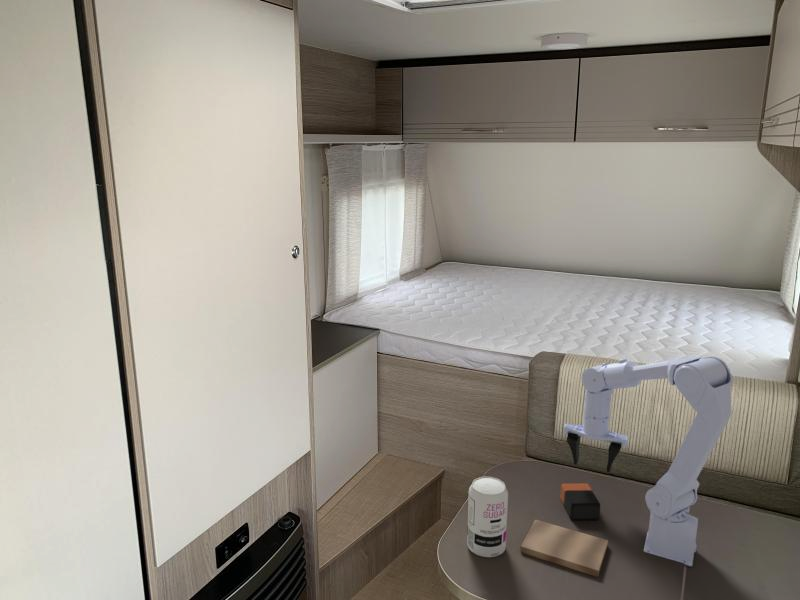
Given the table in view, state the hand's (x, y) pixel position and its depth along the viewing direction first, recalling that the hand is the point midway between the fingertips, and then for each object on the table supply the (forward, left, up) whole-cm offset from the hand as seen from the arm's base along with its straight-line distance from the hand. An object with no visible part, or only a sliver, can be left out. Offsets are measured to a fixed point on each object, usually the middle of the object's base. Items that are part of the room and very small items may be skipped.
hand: (592, 466), depth 142 cm
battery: (-1, +9, -7) cm, 11 cm away
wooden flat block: (+1, +22, -9) cm, 23 cm away
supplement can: (+16, +29, -10) cm, 34 cm away
